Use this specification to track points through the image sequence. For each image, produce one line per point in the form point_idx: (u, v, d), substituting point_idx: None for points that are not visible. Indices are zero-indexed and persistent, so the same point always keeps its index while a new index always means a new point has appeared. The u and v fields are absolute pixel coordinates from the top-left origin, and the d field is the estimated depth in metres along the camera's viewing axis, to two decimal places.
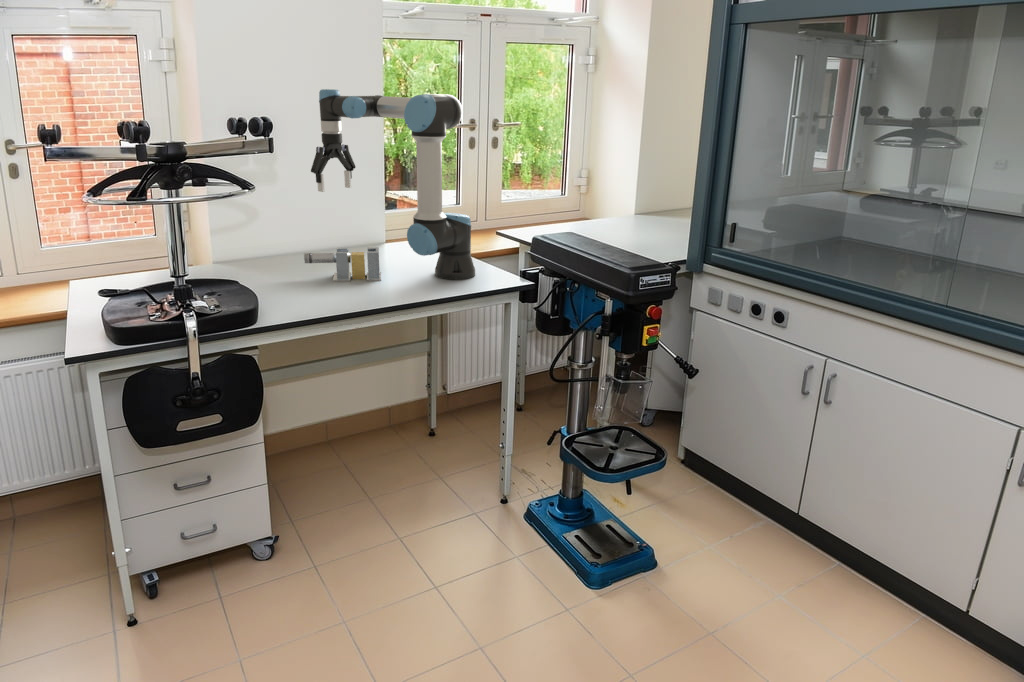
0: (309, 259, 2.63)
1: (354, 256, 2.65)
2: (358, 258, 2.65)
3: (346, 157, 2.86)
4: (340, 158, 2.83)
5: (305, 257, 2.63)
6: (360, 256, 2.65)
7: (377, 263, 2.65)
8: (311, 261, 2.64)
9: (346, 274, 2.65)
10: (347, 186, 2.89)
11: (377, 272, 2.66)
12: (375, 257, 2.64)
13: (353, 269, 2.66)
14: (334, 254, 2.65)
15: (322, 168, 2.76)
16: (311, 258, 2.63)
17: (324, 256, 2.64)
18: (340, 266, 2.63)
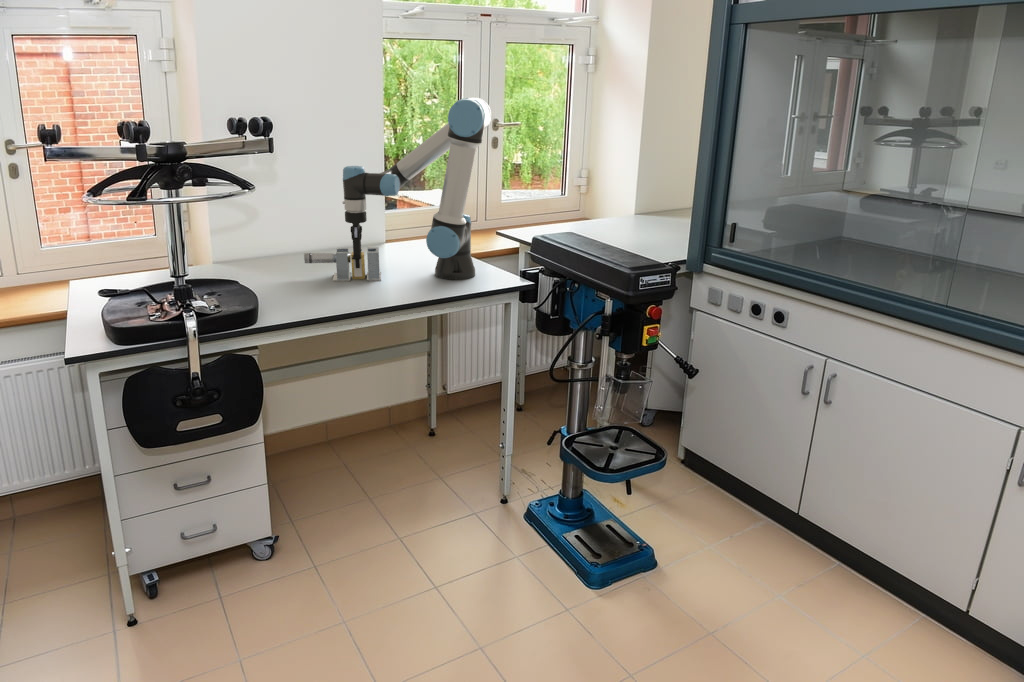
0: (309, 259, 2.63)
1: None
2: None
3: None
4: None
5: (305, 257, 2.63)
6: None
7: (377, 263, 2.65)
8: (311, 261, 2.64)
9: (346, 274, 2.65)
10: None
11: (377, 272, 2.66)
12: (375, 257, 2.64)
13: (353, 269, 2.66)
14: (334, 254, 2.65)
15: (360, 252, 2.64)
16: (311, 258, 2.63)
17: (324, 256, 2.64)
18: (340, 266, 2.63)
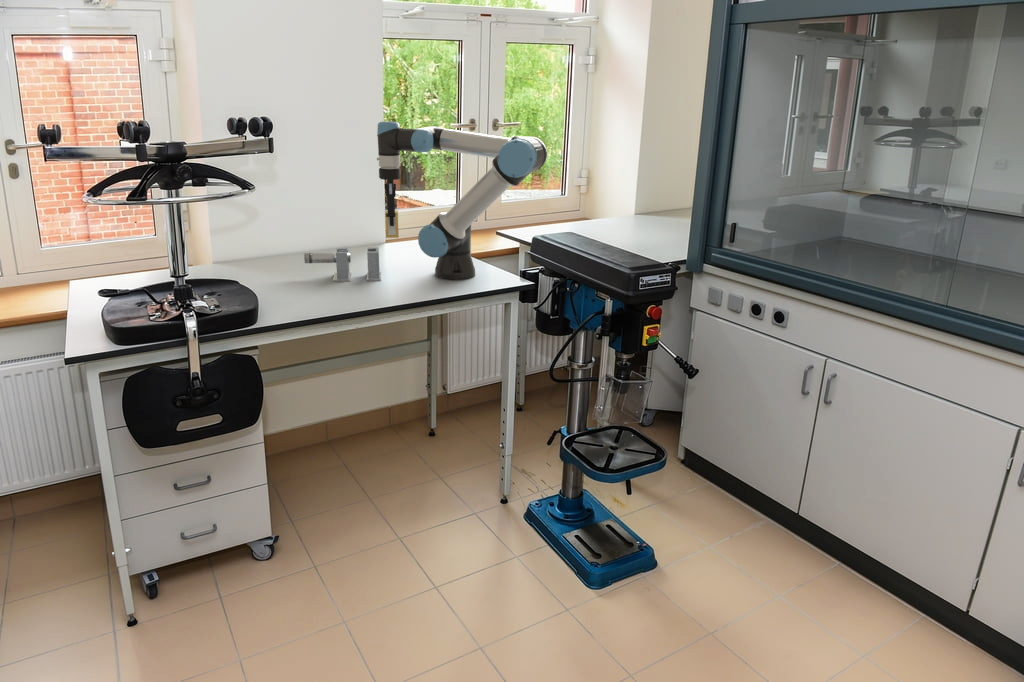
0: (309, 259, 2.63)
1: None
2: None
3: None
4: None
5: (305, 257, 2.63)
6: None
7: (377, 263, 2.65)
8: (311, 261, 2.64)
9: (346, 274, 2.65)
10: None
11: (377, 272, 2.66)
12: (375, 257, 2.64)
13: (387, 227, 2.63)
14: (334, 254, 2.65)
15: None
16: (311, 258, 2.63)
17: (324, 256, 2.64)
18: (340, 266, 2.63)
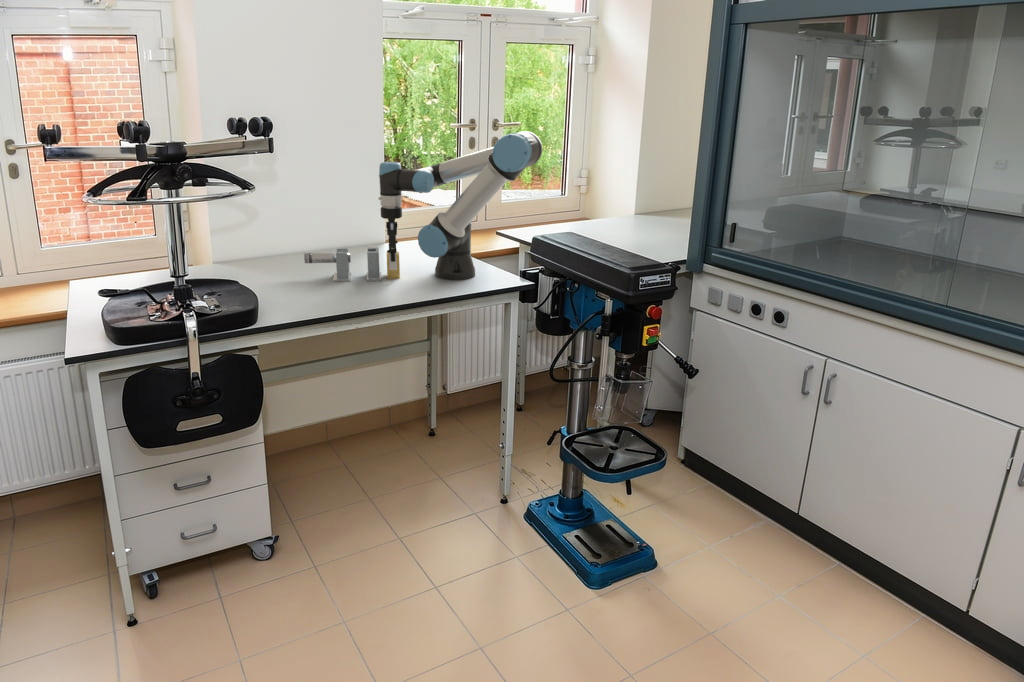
0: (309, 259, 2.63)
1: None
2: None
3: None
4: None
5: (305, 257, 2.63)
6: None
7: (377, 263, 2.65)
8: (311, 261, 2.64)
9: (346, 274, 2.65)
10: None
11: (377, 272, 2.66)
12: (375, 257, 2.64)
13: None
14: (334, 254, 2.65)
15: None
16: (311, 258, 2.63)
17: (324, 256, 2.64)
18: (340, 266, 2.63)
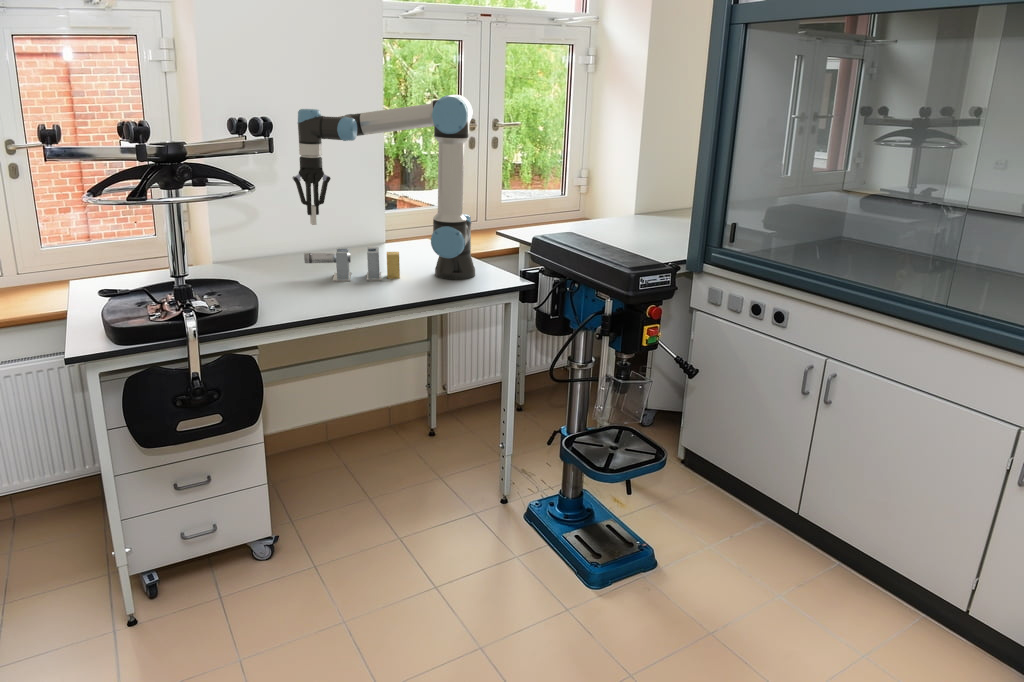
0: (309, 259, 2.63)
1: (389, 256, 2.67)
2: (393, 258, 2.67)
3: (322, 188, 2.59)
4: (314, 186, 2.56)
5: (305, 257, 2.63)
6: (395, 256, 2.67)
7: (377, 263, 2.65)
8: (311, 261, 2.64)
9: (346, 274, 2.65)
10: None
11: (377, 272, 2.66)
12: (375, 257, 2.64)
13: (389, 268, 2.68)
14: (334, 254, 2.65)
15: (309, 199, 2.56)
16: (311, 258, 2.63)
17: (324, 256, 2.64)
18: (340, 266, 2.63)
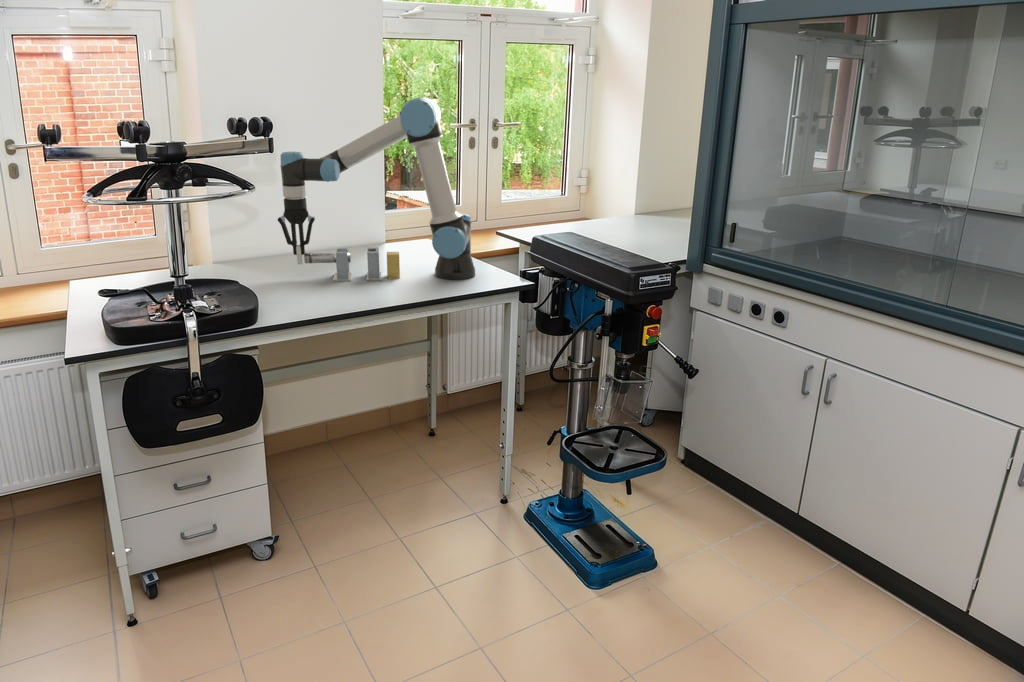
0: (309, 259, 2.63)
1: (389, 256, 2.67)
2: (393, 258, 2.67)
3: (307, 229, 2.61)
4: None
5: (305, 257, 2.63)
6: (395, 256, 2.67)
7: (377, 263, 2.65)
8: (311, 261, 2.64)
9: (346, 274, 2.65)
10: None
11: (377, 272, 2.66)
12: (375, 257, 2.64)
13: (389, 268, 2.68)
14: (334, 254, 2.65)
15: (293, 239, 2.60)
16: (311, 258, 2.63)
17: (324, 256, 2.64)
18: (340, 266, 2.63)
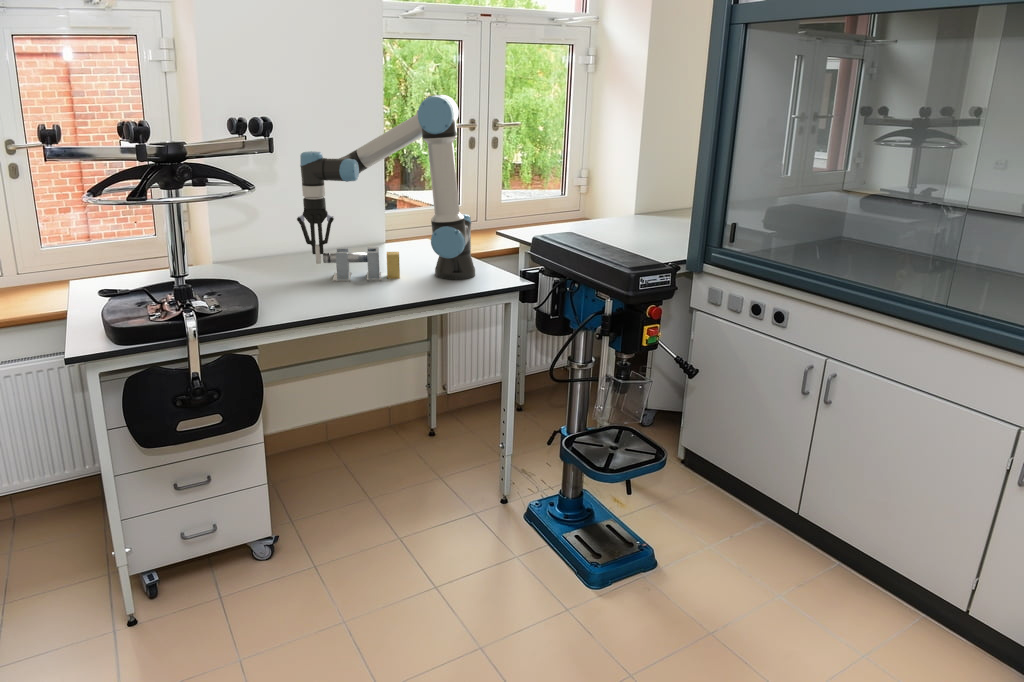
0: (328, 259, 2.64)
1: (389, 256, 2.67)
2: (393, 258, 2.67)
3: (326, 229, 2.62)
4: (318, 226, 2.61)
5: (324, 257, 2.64)
6: (395, 256, 2.67)
7: (377, 263, 2.65)
8: (330, 261, 2.65)
9: (346, 274, 2.65)
10: None
11: (377, 272, 2.66)
12: (375, 257, 2.64)
13: (389, 268, 2.68)
14: (352, 254, 2.66)
15: (312, 238, 2.61)
16: (330, 258, 2.64)
17: None
18: (340, 266, 2.63)
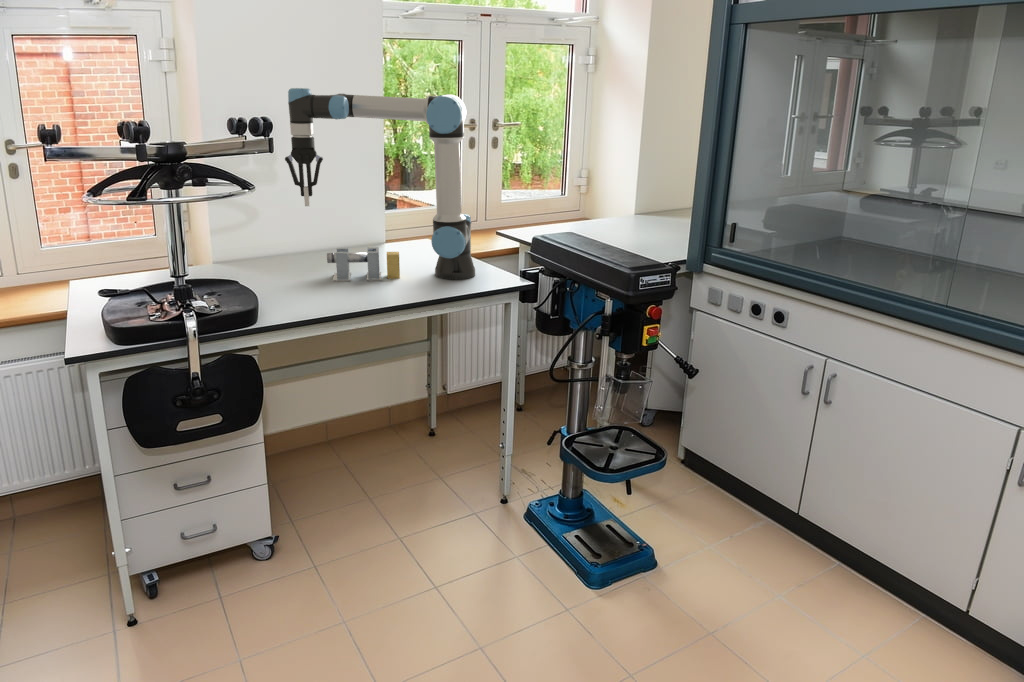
0: (332, 259, 2.64)
1: (389, 256, 2.67)
2: (393, 258, 2.67)
3: None
4: None
5: (328, 257, 2.64)
6: (395, 256, 2.67)
7: (377, 263, 2.65)
8: (334, 261, 2.65)
9: (346, 274, 2.65)
10: None
11: (377, 272, 2.66)
12: (375, 257, 2.64)
13: (389, 268, 2.68)
14: (356, 254, 2.66)
15: (301, 179, 2.54)
16: (334, 258, 2.64)
17: None
18: (340, 266, 2.63)
